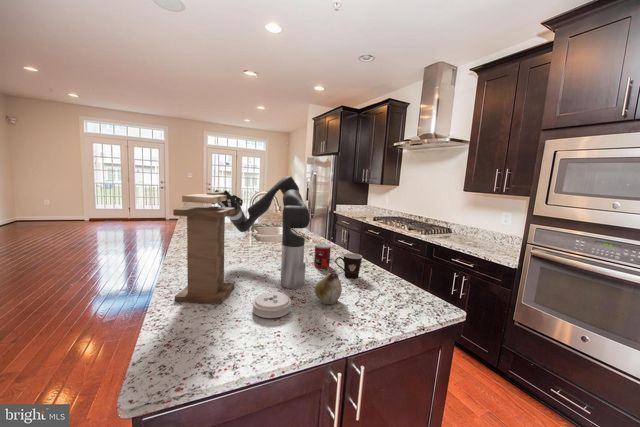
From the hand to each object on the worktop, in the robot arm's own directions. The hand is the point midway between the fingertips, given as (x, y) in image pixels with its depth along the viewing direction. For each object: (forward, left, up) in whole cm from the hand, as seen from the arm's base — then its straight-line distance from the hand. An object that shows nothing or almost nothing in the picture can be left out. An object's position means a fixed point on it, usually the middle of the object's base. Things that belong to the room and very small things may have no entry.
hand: (220, 192), depth 108 cm
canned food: (-24, -44, -37) cm, 63 cm away
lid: (-34, +7, -38) cm, 51 cm away
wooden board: (-4, +6, -2) cm, 8 cm away
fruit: (-46, -10, -37) cm, 60 cm away
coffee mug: (-41, -40, -37) cm, 68 cm away
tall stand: (-7, +12, -37) cm, 39 cm away
